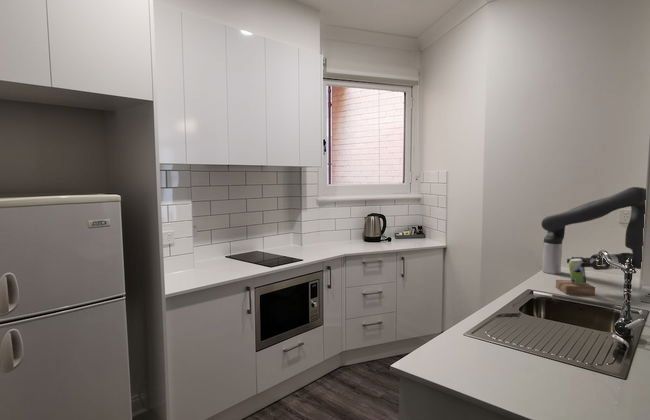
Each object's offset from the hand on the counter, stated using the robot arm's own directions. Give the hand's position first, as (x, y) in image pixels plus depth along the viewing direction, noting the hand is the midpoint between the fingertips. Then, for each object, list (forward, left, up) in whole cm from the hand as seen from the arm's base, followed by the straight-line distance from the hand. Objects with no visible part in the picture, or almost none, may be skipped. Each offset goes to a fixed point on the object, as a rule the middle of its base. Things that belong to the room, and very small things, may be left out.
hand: (574, 262), depth 183 cm
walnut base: (0, +1, -14) cm, 14 cm away
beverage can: (+1, +1, -10) cm, 10 cm away
